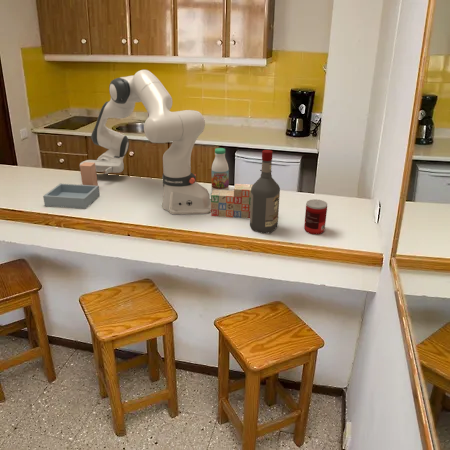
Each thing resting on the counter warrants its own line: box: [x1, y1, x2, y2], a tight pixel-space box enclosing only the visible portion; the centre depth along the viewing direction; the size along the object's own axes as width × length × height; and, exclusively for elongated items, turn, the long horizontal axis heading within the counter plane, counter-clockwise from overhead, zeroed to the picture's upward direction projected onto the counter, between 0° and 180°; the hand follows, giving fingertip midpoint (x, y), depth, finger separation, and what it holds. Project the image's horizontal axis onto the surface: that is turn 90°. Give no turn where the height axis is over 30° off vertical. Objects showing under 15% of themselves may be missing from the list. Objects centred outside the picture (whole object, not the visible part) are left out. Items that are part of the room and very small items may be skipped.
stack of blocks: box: [210, 183, 254, 219], centre depth 181 cm, size 21×6×12 cm, turn 83°
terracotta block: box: [79, 162, 99, 186], centre depth 205 cm, size 5×5×12 cm
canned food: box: [303, 198, 328, 235], centre depth 169 cm, size 8×8×11 cm
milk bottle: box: [211, 147, 230, 192], centre depth 201 cm, size 8×8×20 cm
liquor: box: [249, 149, 281, 234], centre depth 166 cm, size 9×9×30 cm
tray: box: [42, 183, 101, 210], centre depth 195 cm, size 18×15×4 cm
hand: (95, 171), depth 211 cm, fingers open, 8 cm apart
